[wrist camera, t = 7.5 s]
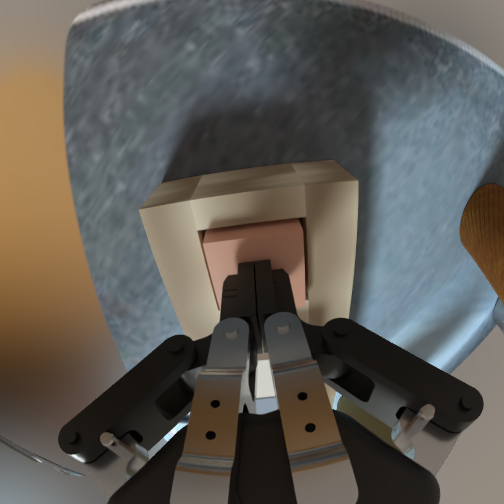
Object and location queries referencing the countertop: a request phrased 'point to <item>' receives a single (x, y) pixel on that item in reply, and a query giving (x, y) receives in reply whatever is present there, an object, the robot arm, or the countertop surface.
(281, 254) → the terracotta key
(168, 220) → the key box
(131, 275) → the countertop surface
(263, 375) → the white key
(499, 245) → the disposable coffee cup
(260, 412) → the slate key
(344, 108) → the countertop surface
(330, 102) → the countertop surface
